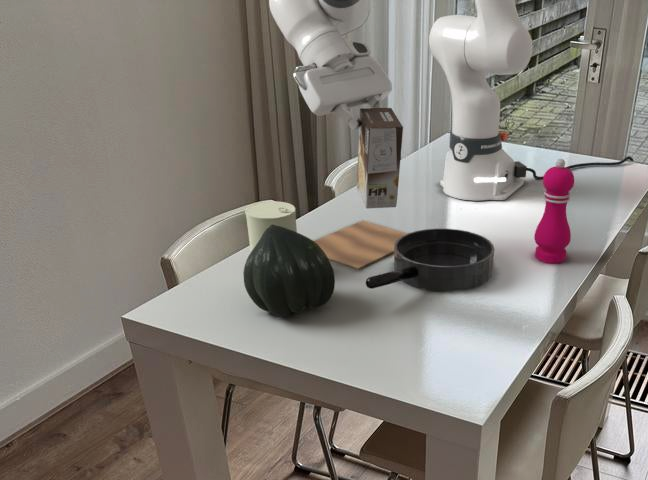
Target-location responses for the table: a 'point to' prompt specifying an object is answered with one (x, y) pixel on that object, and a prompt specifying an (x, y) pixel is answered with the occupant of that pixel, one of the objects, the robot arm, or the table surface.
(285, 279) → the squash
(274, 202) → the can
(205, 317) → the table surface
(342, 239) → the wooden board
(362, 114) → the coffee box
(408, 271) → the pan handle
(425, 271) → the pan
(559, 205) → the pepper mill
